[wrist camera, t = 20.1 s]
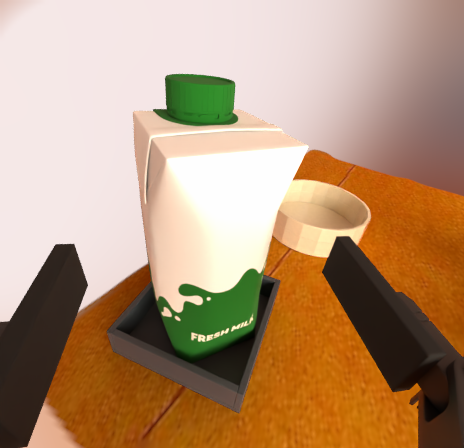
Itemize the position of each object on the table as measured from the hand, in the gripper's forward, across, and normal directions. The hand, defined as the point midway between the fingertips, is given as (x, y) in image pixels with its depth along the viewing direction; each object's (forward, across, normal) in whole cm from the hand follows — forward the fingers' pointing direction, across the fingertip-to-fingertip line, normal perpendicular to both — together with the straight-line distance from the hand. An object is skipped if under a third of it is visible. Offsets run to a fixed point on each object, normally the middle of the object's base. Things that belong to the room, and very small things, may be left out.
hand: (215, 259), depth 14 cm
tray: (+5, 0, -13) cm, 14 cm away
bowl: (+20, +18, -13) cm, 30 cm away
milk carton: (+5, 0, -13) cm, 14 cm away
